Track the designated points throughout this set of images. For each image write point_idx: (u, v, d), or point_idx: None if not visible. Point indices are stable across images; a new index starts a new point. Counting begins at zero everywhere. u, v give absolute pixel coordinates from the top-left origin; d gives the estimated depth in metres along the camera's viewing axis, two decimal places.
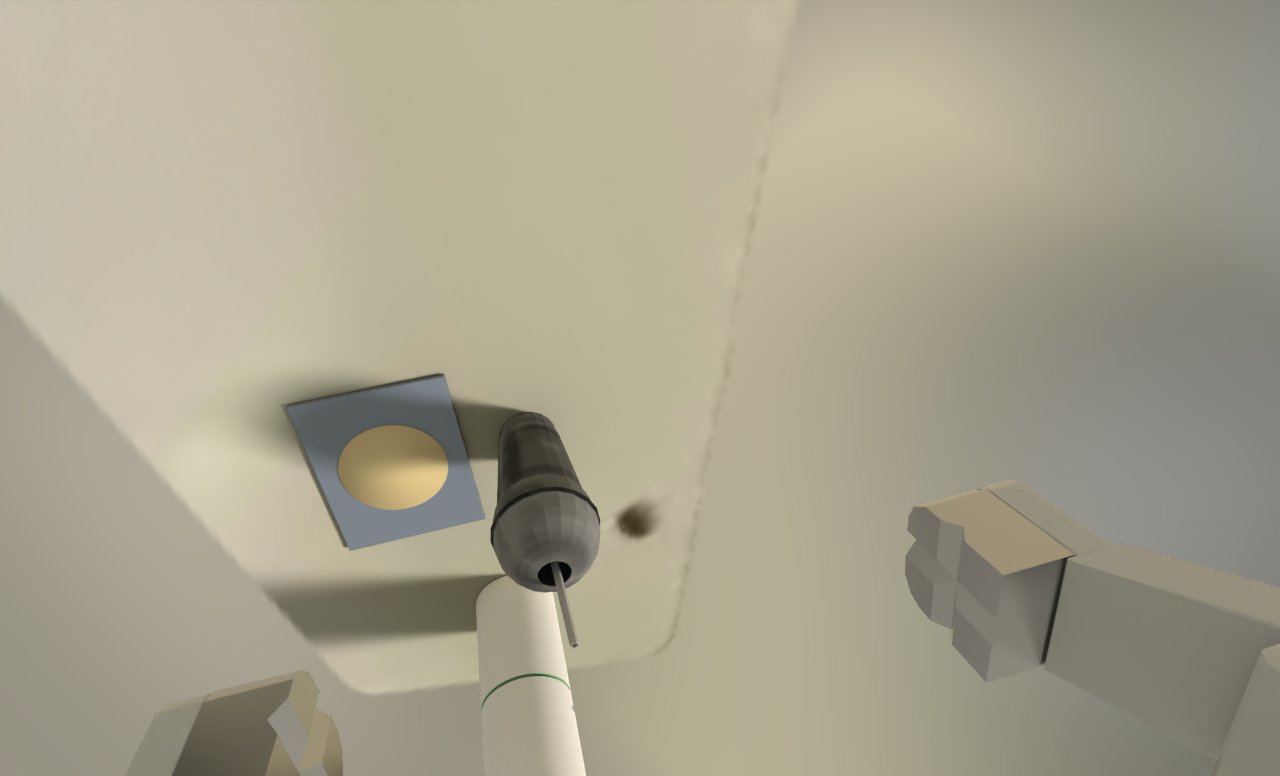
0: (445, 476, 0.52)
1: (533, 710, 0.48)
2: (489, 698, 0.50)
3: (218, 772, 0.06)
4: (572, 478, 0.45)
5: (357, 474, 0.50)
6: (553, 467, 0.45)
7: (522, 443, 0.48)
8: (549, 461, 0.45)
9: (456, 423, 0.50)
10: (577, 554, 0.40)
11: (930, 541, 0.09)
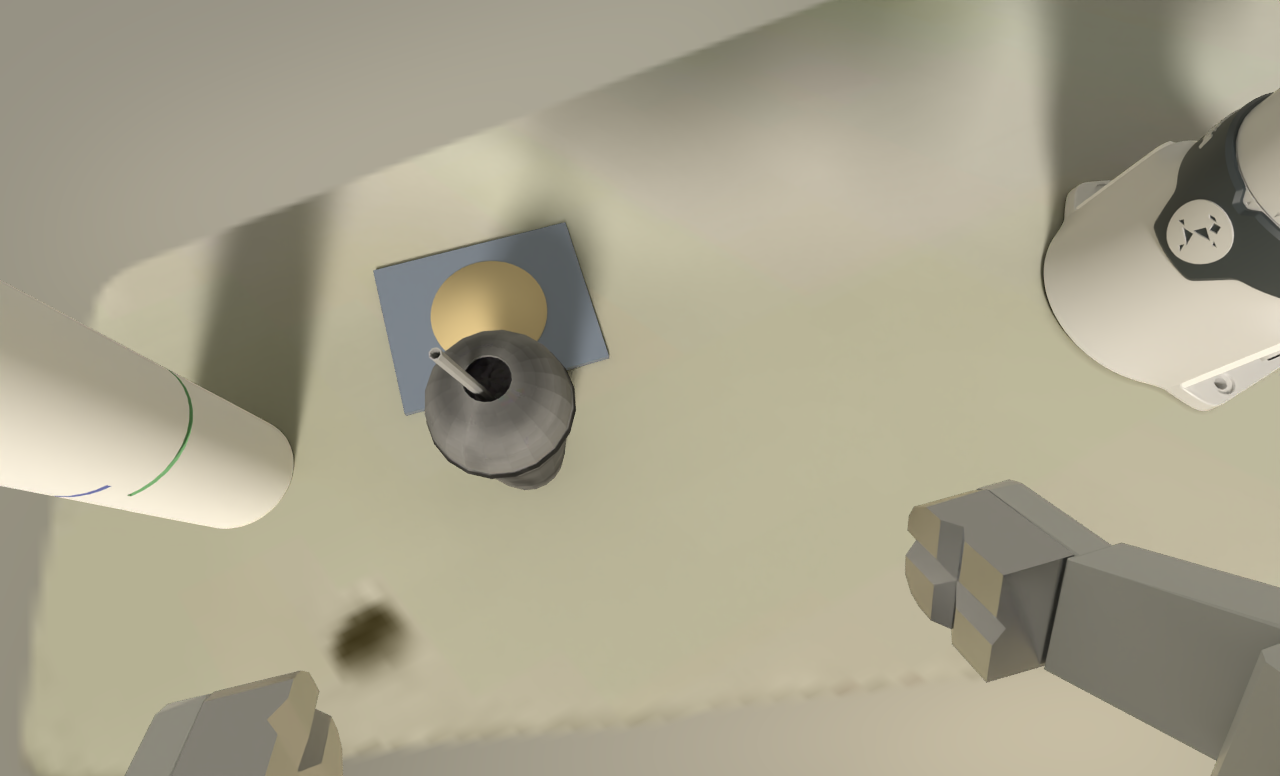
0: None
1: (148, 404, 0.29)
2: None
3: (218, 772, 0.06)
4: None
5: (483, 278, 0.46)
6: None
7: None
8: None
9: None
10: (512, 411, 0.28)
11: (930, 541, 0.09)
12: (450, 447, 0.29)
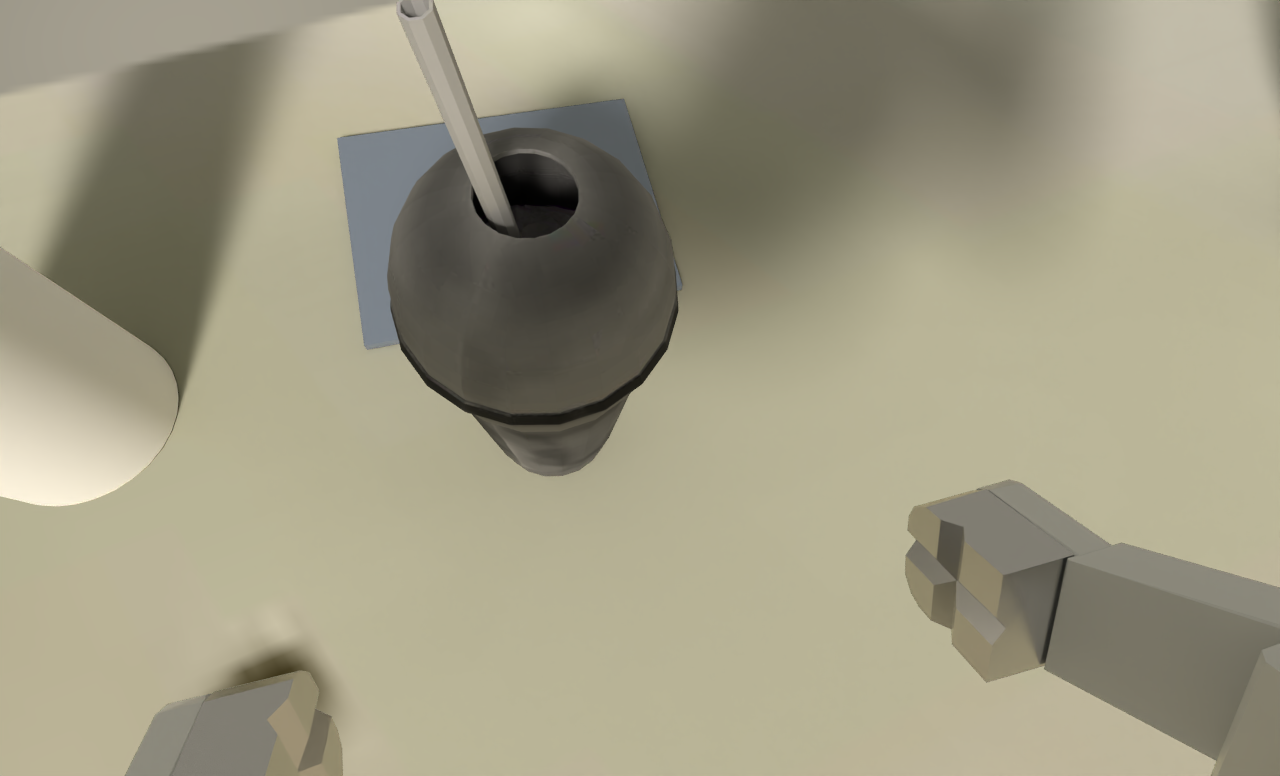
0: None
1: None
2: None
3: (218, 772, 0.06)
4: None
5: None
6: None
7: None
8: None
9: None
10: (575, 269, 0.13)
11: (930, 541, 0.09)
12: (434, 345, 0.14)
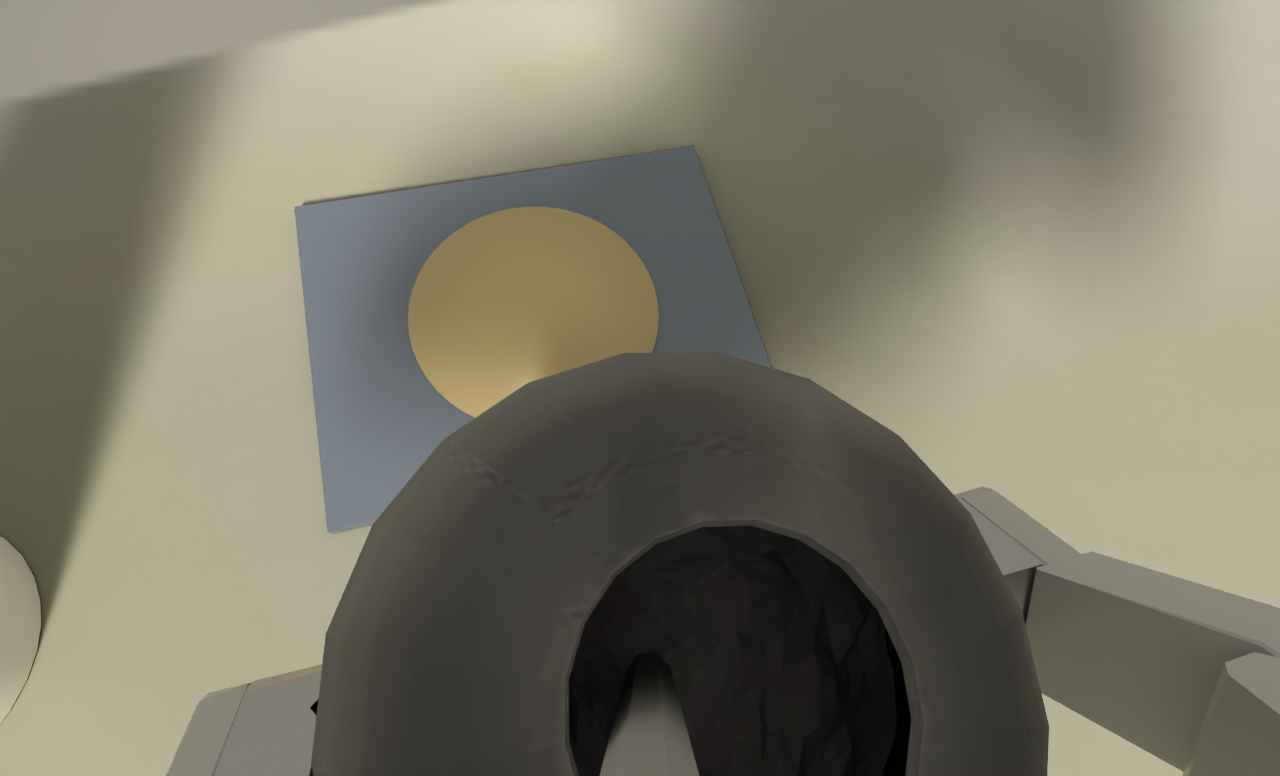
0: None
1: None
2: None
3: (265, 759, 0.06)
4: None
5: (526, 241, 0.22)
6: None
7: None
8: None
9: None
10: None
11: None
12: None
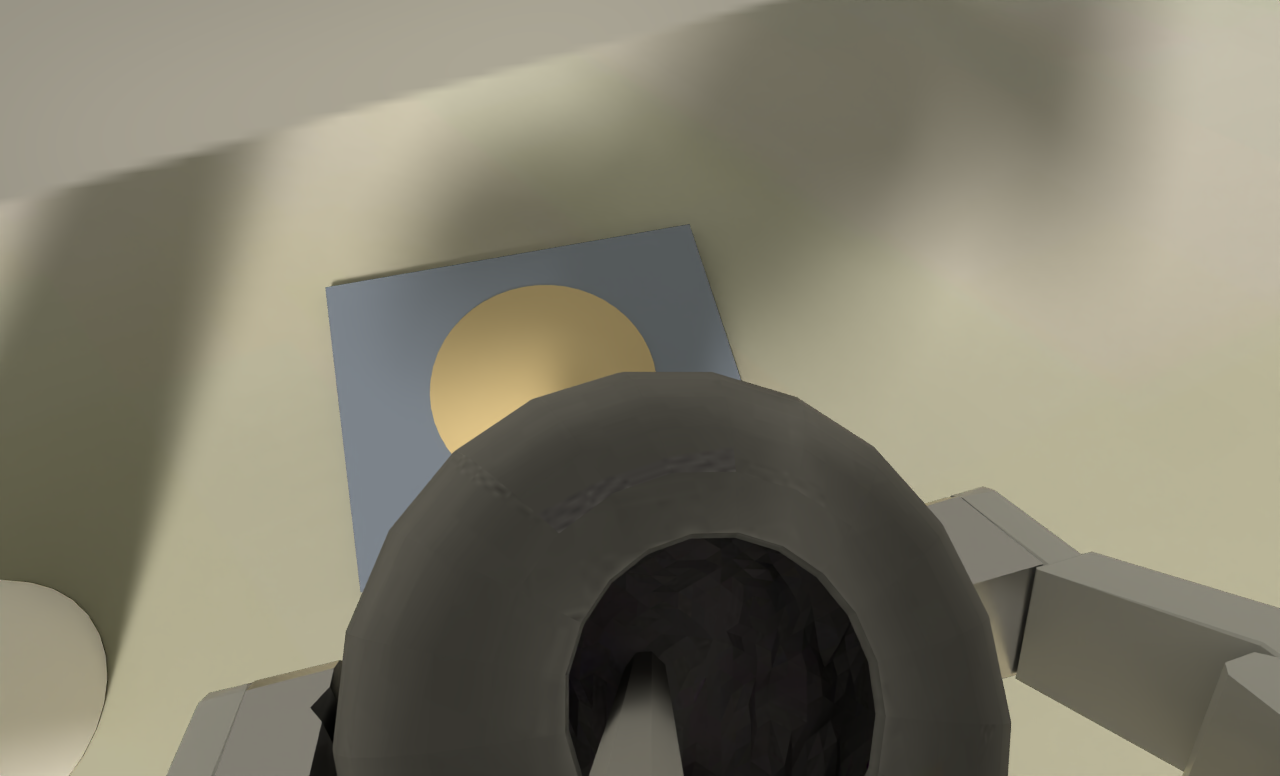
0: None
1: None
2: None
3: (265, 759, 0.06)
4: None
5: (536, 318, 0.24)
6: None
7: None
8: None
9: None
10: None
11: None
12: None
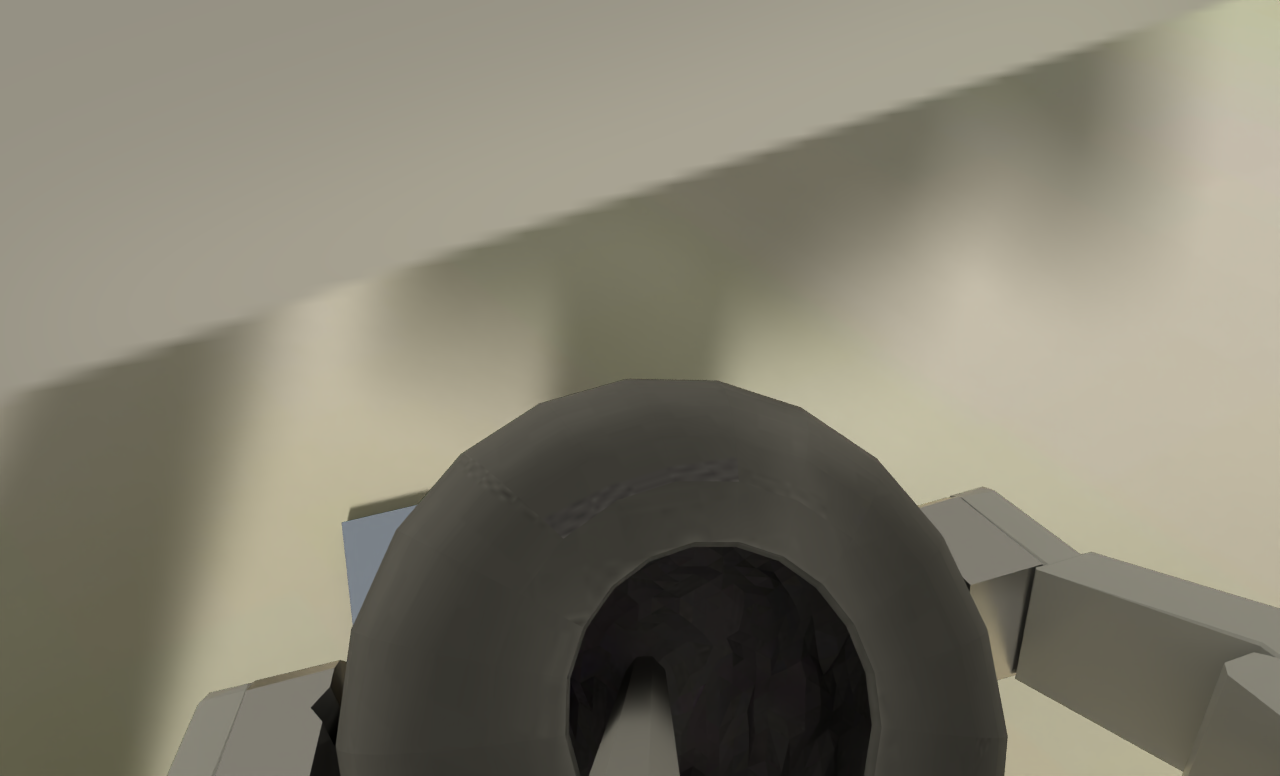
0: None
1: None
2: None
3: (265, 758, 0.06)
4: None
5: None
6: None
7: None
8: None
9: None
10: None
11: None
12: None
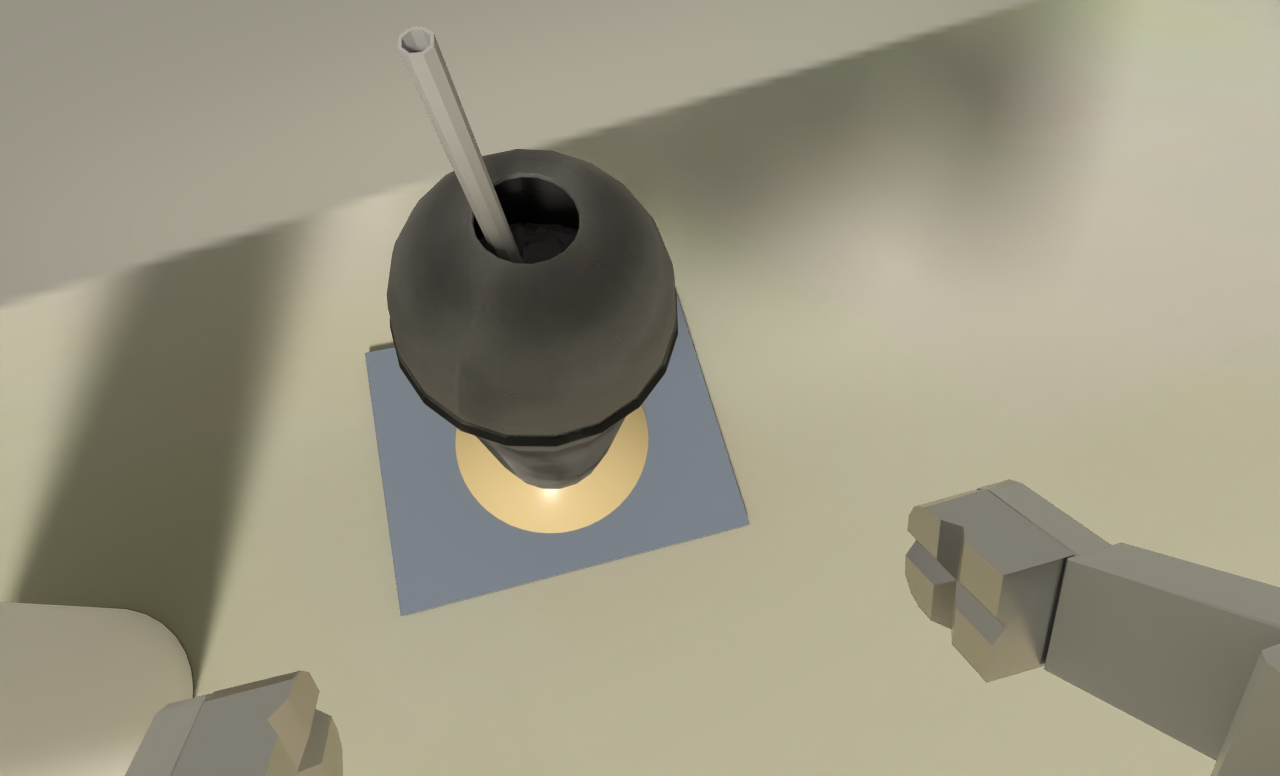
0: (526, 527, 0.26)
1: None
2: None
3: (218, 772, 0.06)
4: None
5: None
6: None
7: None
8: None
9: (651, 547, 0.26)
10: (574, 294, 0.13)
11: (930, 541, 0.09)
12: (431, 366, 0.14)
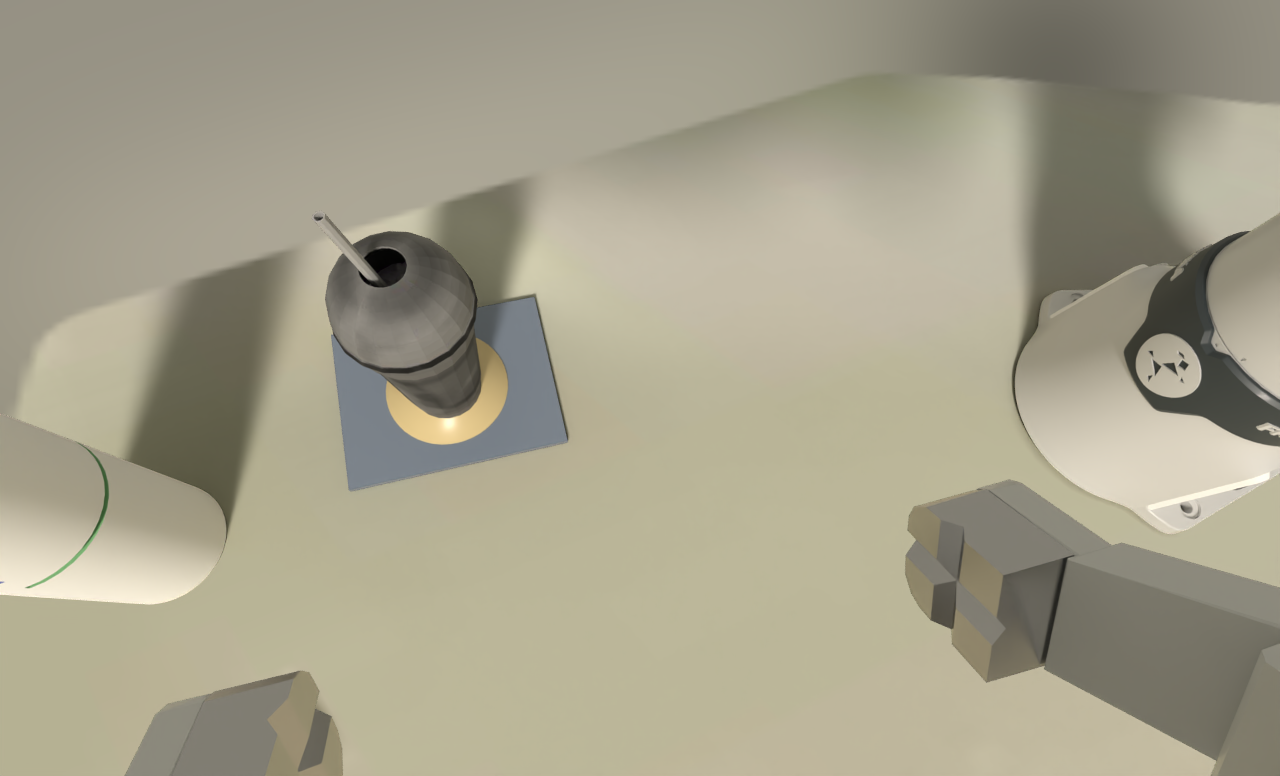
0: (427, 441, 0.43)
1: (54, 496, 0.27)
2: (77, 444, 0.30)
3: (218, 772, 0.06)
4: (455, 363, 0.35)
5: None
6: (470, 346, 0.36)
7: None
8: (472, 350, 0.37)
9: (504, 453, 0.43)
10: (403, 300, 0.30)
11: (930, 541, 0.09)
12: (343, 333, 0.31)
